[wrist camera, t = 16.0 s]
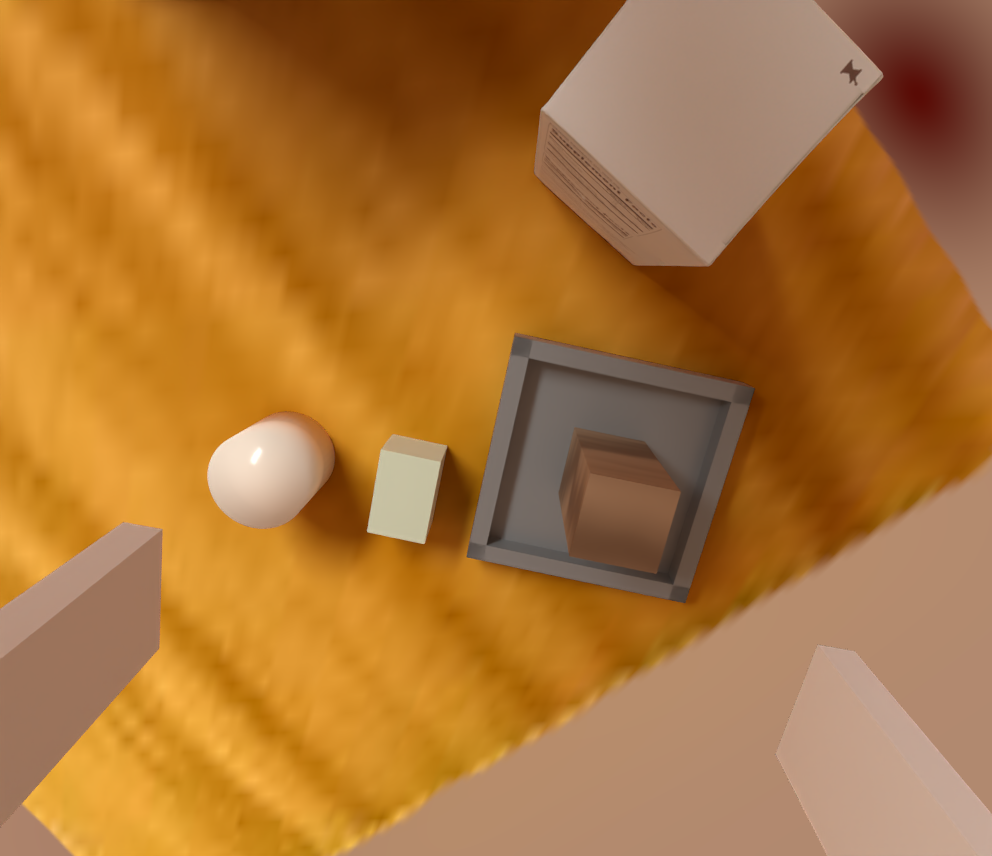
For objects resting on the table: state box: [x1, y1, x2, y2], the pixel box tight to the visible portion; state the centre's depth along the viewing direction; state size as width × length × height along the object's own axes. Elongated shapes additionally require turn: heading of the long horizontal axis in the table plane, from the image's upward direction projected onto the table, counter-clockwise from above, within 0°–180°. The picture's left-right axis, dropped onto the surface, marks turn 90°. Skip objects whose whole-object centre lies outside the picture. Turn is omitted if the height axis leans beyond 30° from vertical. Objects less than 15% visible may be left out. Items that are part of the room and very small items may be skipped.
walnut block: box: [558, 427, 681, 574], centre depth 39 cm, size 5×5×10 cm
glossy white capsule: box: [208, 411, 335, 529], centre depth 42 cm, size 6×6×6 cm
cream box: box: [367, 434, 447, 544], centre depth 43 cm, size 6×4×4 cm, turn 168°
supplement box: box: [534, 0, 883, 266], centre depth 31 cm, size 10×9×17 cm
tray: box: [467, 333, 755, 603], centre depth 43 cm, size 16×16×2 cm
